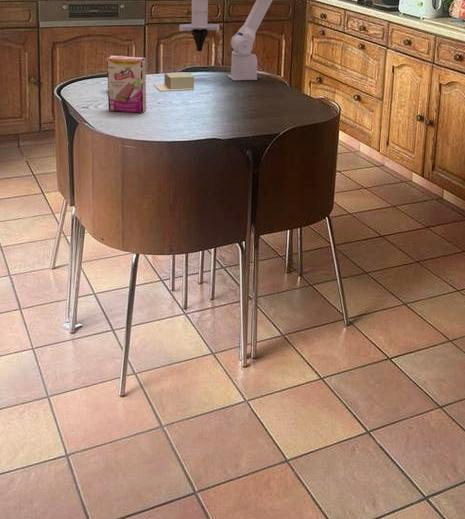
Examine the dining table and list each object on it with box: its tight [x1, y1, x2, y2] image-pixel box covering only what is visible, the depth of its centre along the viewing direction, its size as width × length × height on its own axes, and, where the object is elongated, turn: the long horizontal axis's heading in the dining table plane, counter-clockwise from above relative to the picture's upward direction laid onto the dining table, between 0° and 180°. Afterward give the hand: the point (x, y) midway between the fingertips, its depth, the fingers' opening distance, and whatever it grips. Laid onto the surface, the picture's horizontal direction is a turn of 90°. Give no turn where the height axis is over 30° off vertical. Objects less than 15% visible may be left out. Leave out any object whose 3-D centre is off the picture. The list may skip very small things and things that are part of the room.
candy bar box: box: [106, 55, 147, 114], centre depth 225 cm, size 11×5×16 cm, turn 84°
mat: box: [153, 83, 194, 92], centre depth 259 cm, size 12×10×1 cm
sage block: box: [163, 72, 195, 89], centre depth 258 cm, size 4×7×9 cm
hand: (199, 50), depth 267 cm, fingers closed
